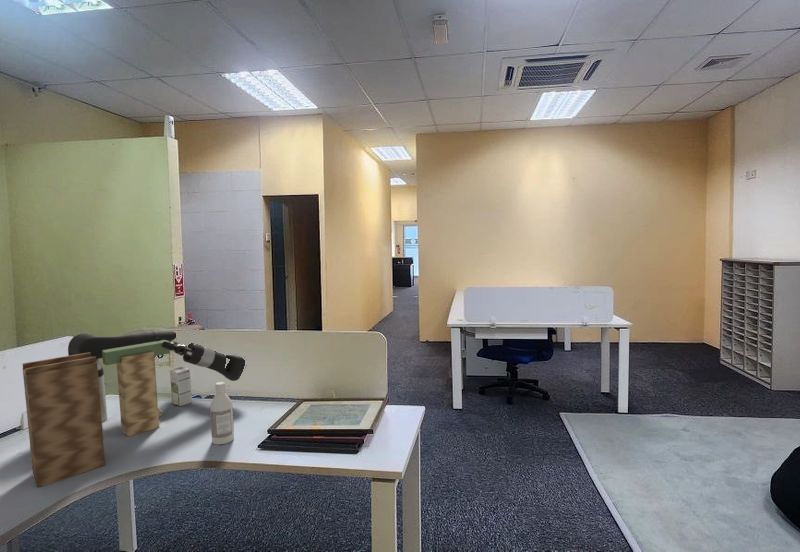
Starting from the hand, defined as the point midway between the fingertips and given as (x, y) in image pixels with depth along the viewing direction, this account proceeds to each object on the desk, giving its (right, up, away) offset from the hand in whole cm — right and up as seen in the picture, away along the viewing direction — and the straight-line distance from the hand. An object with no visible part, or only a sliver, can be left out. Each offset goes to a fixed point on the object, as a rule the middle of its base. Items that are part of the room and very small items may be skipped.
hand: (158, 342), depth 160 cm
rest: (-5, -31, -3) cm, 31 cm away
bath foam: (+29, -32, -13) cm, 45 cm away
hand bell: (-8, -30, +8) cm, 32 cm away
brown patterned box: (-10, -34, -30) cm, 46 cm away
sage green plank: (-4, -5, -4) cm, 7 cm away
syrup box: (-2, -29, +21) cm, 36 cm away
